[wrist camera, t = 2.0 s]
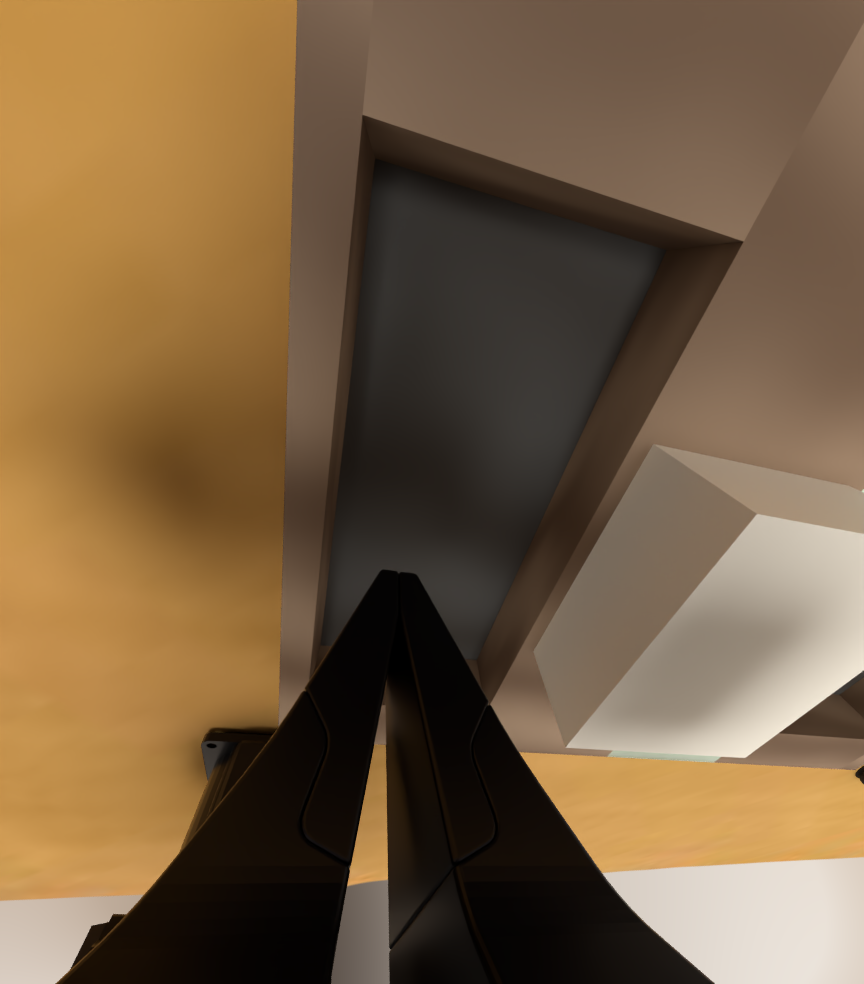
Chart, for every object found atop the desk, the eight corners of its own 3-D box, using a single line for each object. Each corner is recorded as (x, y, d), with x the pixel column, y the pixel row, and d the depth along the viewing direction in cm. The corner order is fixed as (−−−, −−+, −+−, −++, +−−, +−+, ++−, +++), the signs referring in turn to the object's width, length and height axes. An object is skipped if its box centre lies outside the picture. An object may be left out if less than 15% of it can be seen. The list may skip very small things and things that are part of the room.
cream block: (680, 666, 13) (745, 758, 11) (533, 651, 13) (565, 748, 10) (849, 485, 10) (1011, 561, 7) (653, 443, 9) (757, 513, 6)
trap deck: (810, 721, 22) (854, 769, 19) (294, 680, 17) (277, 739, 15) (1350, 333, 11) (1584, 347, 9) (342, -89, 6) (304, -295, 4)
